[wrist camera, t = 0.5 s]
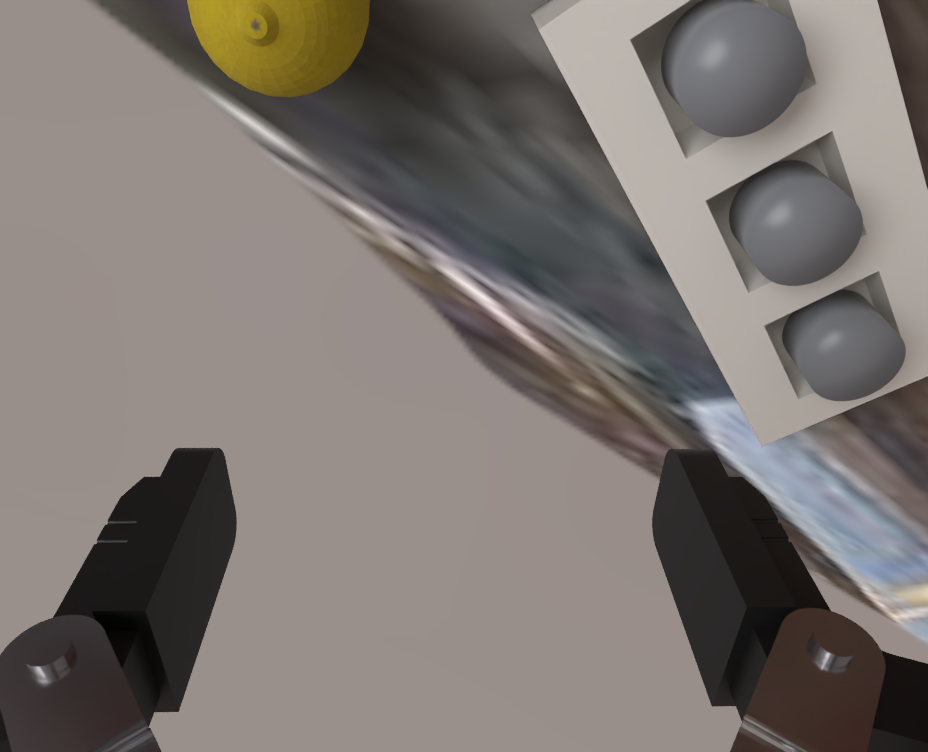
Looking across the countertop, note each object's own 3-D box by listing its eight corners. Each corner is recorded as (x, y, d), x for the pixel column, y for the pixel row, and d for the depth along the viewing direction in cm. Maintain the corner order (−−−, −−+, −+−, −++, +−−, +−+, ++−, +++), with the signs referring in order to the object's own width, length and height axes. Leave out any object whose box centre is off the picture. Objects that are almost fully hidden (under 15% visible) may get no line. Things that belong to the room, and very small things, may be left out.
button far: (859, 274, 31) (893, 309, 29) (881, 337, 33) (915, 375, 31) (770, 316, 32) (795, 354, 30) (797, 375, 34) (823, 414, 32)
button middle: (811, 140, 28) (846, 168, 25) (840, 220, 30) (874, 253, 27) (714, 194, 29) (738, 225, 26) (748, 267, 31) (773, 302, 28)
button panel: (792, -169, 23) (831, -172, 21) (936, 322, 35) (972, 357, 33) (530, 13, 27) (538, 29, 24) (742, 409, 38) (761, 446, 36)
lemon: (380, 68, 28) (357, 133, 21) (237, 58, 27) (170, 121, 21) (378, -102, 24) (351, -87, 18) (216, -115, 24) (129, -103, 18)
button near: (751, -32, 24) (784, -19, 22) (787, 72, 26) (822, 94, 24) (643, 38, 25) (663, 57, 23) (686, 132, 27) (708, 159, 25)
